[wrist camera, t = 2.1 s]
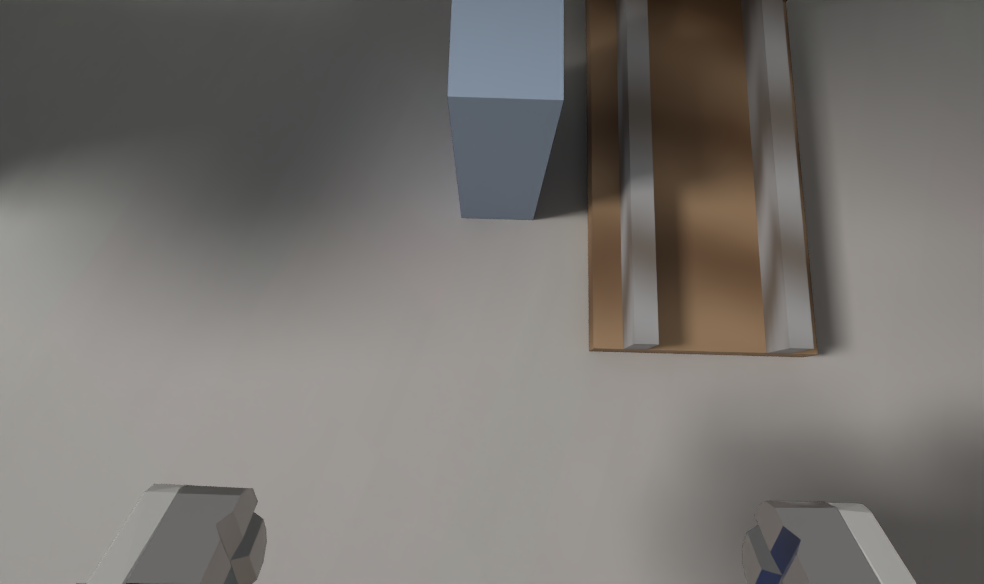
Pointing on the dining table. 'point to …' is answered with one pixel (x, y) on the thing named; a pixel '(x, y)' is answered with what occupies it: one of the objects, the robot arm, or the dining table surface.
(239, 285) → the dining table surface
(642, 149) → the brown wooden holder
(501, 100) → the pale blue rectangular block
